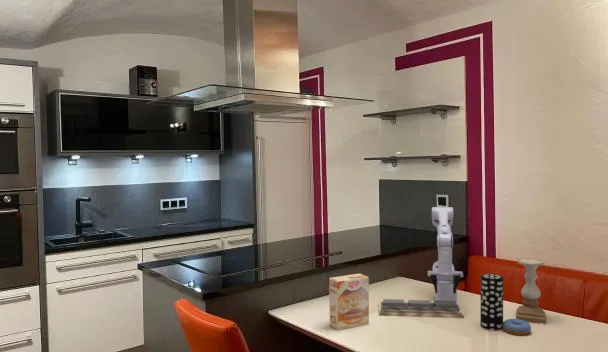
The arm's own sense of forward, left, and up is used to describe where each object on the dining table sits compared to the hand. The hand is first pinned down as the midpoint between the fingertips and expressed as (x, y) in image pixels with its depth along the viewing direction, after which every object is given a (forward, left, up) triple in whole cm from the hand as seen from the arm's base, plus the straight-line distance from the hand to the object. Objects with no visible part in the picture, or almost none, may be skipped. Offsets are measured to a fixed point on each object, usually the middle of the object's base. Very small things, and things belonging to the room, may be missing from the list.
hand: (445, 292), depth 208 cm
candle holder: (-34, +5, -9) cm, 35 cm away
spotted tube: (-15, +17, -8) cm, 24 cm away
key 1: (+22, 0, -6) cm, 23 cm away
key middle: (+11, 0, -6) cm, 12 cm away
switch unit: (+11, 0, -8) cm, 14 cm away
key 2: (0, 0, -6) cm, 6 cm away
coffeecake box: (+40, +20, -9) cm, 46 cm away
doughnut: (-24, +21, -9) cm, 33 cm away
